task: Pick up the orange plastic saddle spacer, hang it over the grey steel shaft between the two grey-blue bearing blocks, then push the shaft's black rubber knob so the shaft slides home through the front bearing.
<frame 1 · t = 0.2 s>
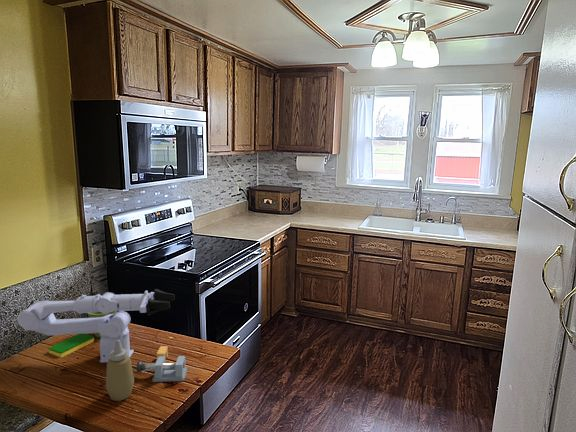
hand: (172, 301, 141), 21 cm above the table, tool horizontal, fingers open, 7 cm apart
plant pot: (104, 334, 159), on the table
dish sponge: (72, 348, 149), on the table
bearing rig: (170, 375, 132), on the table
spacer: (162, 360, 141), on the table
shaft: (157, 366, 131), point 3 cm above the table, slide at 0.0 cm
squeeze bottle: (120, 396, 121), on the table
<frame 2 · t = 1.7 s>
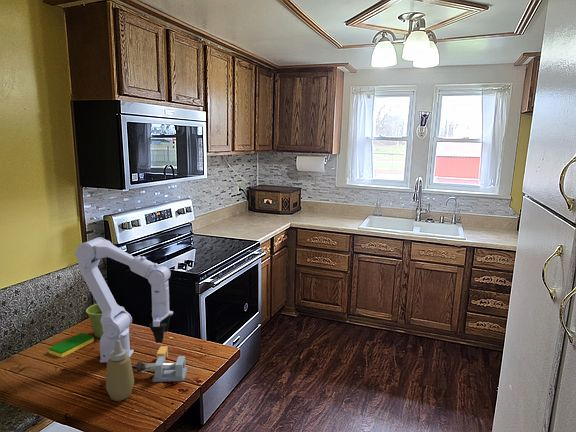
hand: (161, 336, 140), 9 cm above the table, tool pointing down, fingers open, 7 cm apart
nothing on the table moved.
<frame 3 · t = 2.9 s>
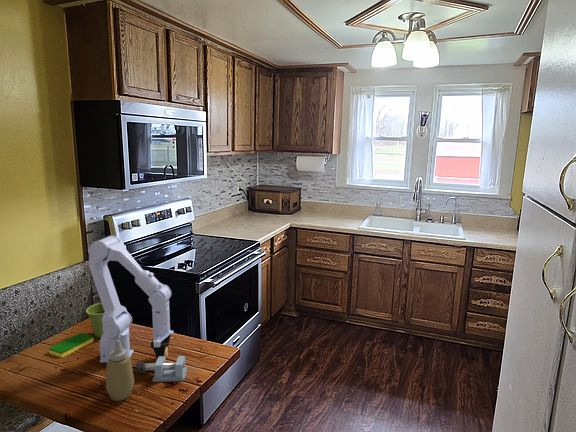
hand: (162, 356, 141), 2 cm above the table, tool pointing down, fingers closed on spacer, 5 cm apart
spacer: (162, 360, 141), on the table, touching gripper
everything else where it was.
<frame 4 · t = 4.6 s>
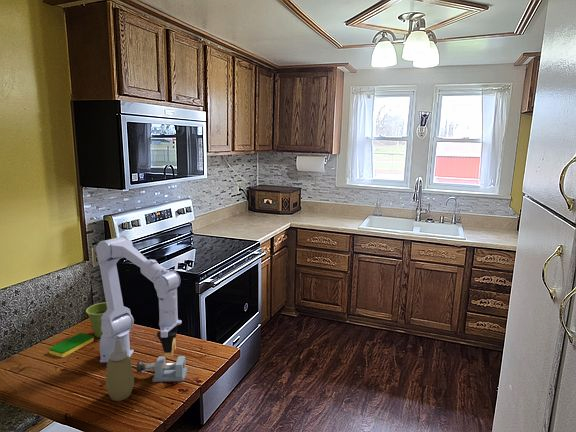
hand: (169, 347, 130), 10 cm above the table, tool pointing down, fingers closed on spacer, 5 cm apart
spacer: (170, 352, 131), point 8 cm above the table, touching gripper
everything else where it was.
when the fingers open (4 cm above the table, at t = 6.4 s): spacer stays where it is, resting on shaft.
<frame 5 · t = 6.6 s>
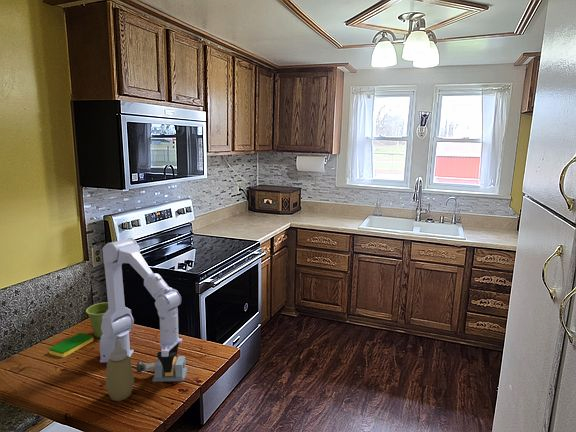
hand: (170, 365, 131), 4 cm above the table, tool pointing down, fingers open, 7 cm apart
spacer: (170, 371, 131), point 1 cm above the table, touching shaft
shaft: (157, 366, 131), point 3 cm above the table, slide at 0.0 cm, touching spacer
everything else where it was.
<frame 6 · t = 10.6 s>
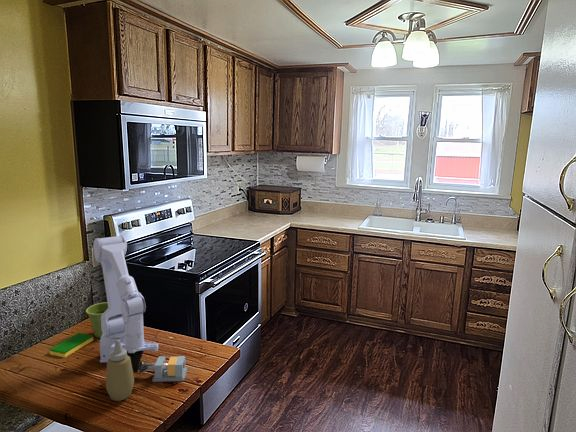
hand: (136, 370, 130), 2 cm above the table, tool pointing down, fingers closed
spacer: (173, 371, 131), point 2 cm above the table, touching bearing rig, shaft
shaft: (159, 366, 131), point 3 cm above the table, slide at 0.8 cm, touching gripper, spacer
everything else where it was.
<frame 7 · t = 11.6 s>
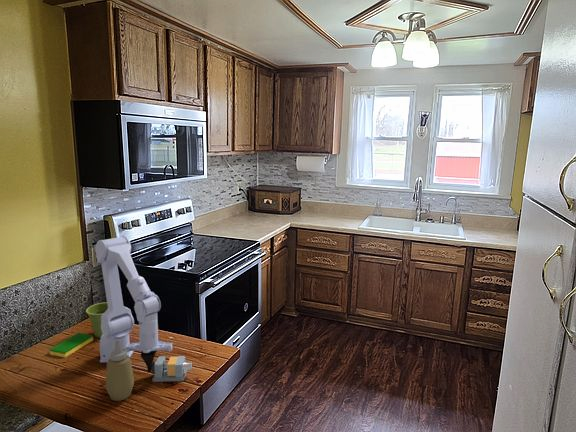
hand: (150, 370, 131), 2 cm above the table, tool pointing down, fingers closed
spacer: (173, 371, 131), point 1 cm above the table, touching shaft
shaft: (172, 366, 131), point 3 cm above the table, slide at 4.9 cm, touching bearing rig, gripper, spacer
everything else where it was.
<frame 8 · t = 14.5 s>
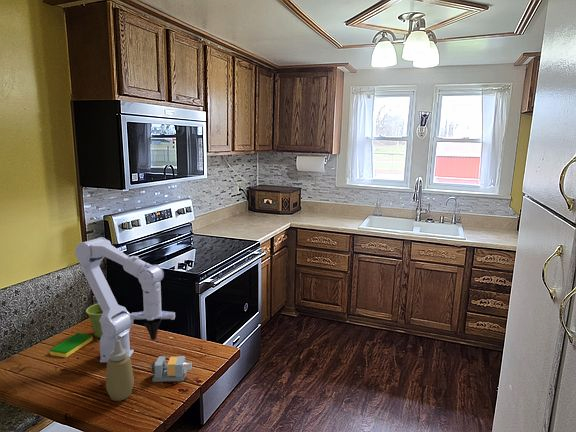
hand: (153, 338, 136), 10 cm above the table, tool pointing down, fingers closed
shaft: (172, 366, 131), point 3 cm above the table, slide at 4.9 cm, touching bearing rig, spacer
everything else where it was.
at the end: shaft slide at 4.9 cm; spacer 0.8 cm from the target spot, point 1.5 cm above the table; spacer tilted 1° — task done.
